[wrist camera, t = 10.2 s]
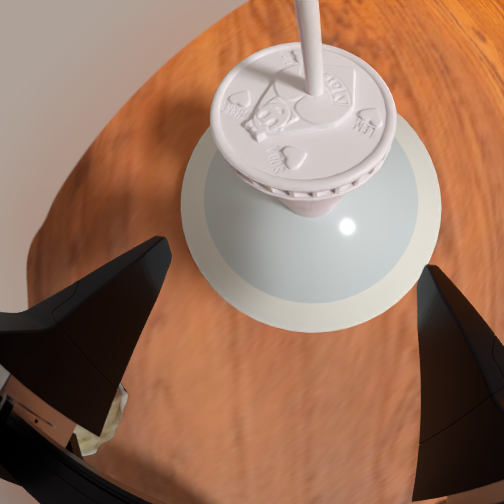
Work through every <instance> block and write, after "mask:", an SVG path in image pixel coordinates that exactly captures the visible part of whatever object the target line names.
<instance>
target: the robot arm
mask: <svg viewBox="0 0 504 504" xmlns="http://www.w3.org/2000/svg"><path fill="white" fill-rule="evenodd" d="M171 259H172V254H171V251H170V248H169V244H168V241H167V239H166V237H162V236H155V237H153V238H151V239H149V240H147V241H145V242H143V243H142V244H140V245H138V246H136V247H135V248H133V249H131V250H129V251H127V252H126V253H124V254H122V255H120V256H119V257H117V258H115V259H113V260H112V261H110V262H108V263H107V264H105V265H103V266H102V267H100V268H98V269H96V270H95V271H93V272H91V273H90V274H88V275H86V276H85V277H83V278H82V279H80V280H78V281H77V282H75V283H73V284H72V285H70V286H68V287H67V288H65V289H63V290H62V291H60V292H58V293H57V294H55V295H53V296H51V297H49V298H48V299H46V300H44V301H42V302H40V303H39V304H37V305H35V306H33V307H32V308H30V309H28V310H26V311H23V312H19V313H4V312H0V478H2V479H4V480H6V481H9V482H11V483H14V484H17V485H20V486H22V487H23V488H24V489H25V490H26V491H27V492H28V493H29V494H30V495H32V496H33V497H34V498H35V499H36V500H37V501H38V502H39V503H40V504H165V503H163V502H160V501H158V500H156V499H153V498H151V497H149V496H147V495H145V494H142V493H140V492H138V491H136V490H134V489H132V488H130V487H128V486H126V485H124V484H122V483H120V482H119V481H117V480H115V479H113V478H111V477H110V476H108V475H106V474H104V473H103V472H101V471H99V470H98V469H96V468H94V467H93V466H91V465H89V464H88V463H86V462H85V461H83V457H82V454H81V451H80V447H79V443H78V440H77V436H76V434H75V433H74V432H73V431H74V429H75V427H76V425H77V424H78V425H79V426H81V427H82V428H84V429H86V430H87V431H89V432H91V433H92V434H94V435H96V436H98V437H100V435H101V433H102V430H103V427H104V425H105V422H106V419H107V416H108V414H109V411H110V408H111V406H112V403H113V400H114V398H115V395H116V393H117V389H118V387H119V385H120V382H121V380H122V377H123V375H124V372H125V370H126V367H127V365H128V363H129V360H130V358H131V356H132V353H133V351H134V349H135V346H136V344H137V342H138V339H139V337H140V335H141V333H142V330H143V328H144V326H145V324H146V321H147V319H148V317H149V315H150V313H151V310H152V308H153V306H154V304H155V302H156V300H157V297H158V295H159V293H160V290H161V287H162V285H163V282H164V279H165V276H166V273H167V271H168V268H169V265H170V263H171ZM417 327H418V341H419V354H420V374H421V420H420V439H419V444H420V445H419V450H418V460H417V469H416V477H415V484H414V490H413V496H412V502H414V501H421V500H428V499H434V498H439V497H444V496H447V503H446V504H504V346H503V345H502V343H501V342H500V340H499V339H498V338H497V336H496V335H495V334H494V332H493V331H492V330H491V328H490V327H489V326H488V324H487V323H486V322H485V321H484V319H483V318H482V317H481V316H480V314H479V313H478V312H477V311H476V309H475V308H474V307H473V306H472V305H471V303H470V302H469V301H468V300H467V299H466V297H465V296H464V295H463V294H462V293H461V292H460V290H459V289H458V288H457V287H456V286H455V285H454V284H453V283H452V281H451V280H450V279H449V278H448V277H447V276H446V275H445V274H444V273H443V272H442V270H441V269H440V268H439V267H438V266H436V265H430V264H427V265H425V266H424V268H423V271H422V273H421V276H420V278H419V280H418V283H417ZM494 335H495V336H494Z"/></svg>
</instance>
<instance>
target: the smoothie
mask: <svg viewBox="0 0 504 504" xmlns="http://www.w3.org/2000/svg"><path fill="white" fill-rule="evenodd" d="M293 1H294V6H295V12H296V18H297V24H298V30H299V37H300V42H292V43H285V44H279V45H275V46H272V47H269V48H266V49H263V50H261V51H258V52H256V53H254V54H252V55H250V56H249V57H247V58H245V59H244V60H242V61H241V62H240V63H238V64H237V65H236V66H235V67H234V68H233V69H232V70H231V71H230V72H229V73H228V74H227V75H226V76H225V77H224V79H223V80H222V82H221V83H220V85H219V86H218V88H217V90H216V92H215V95H214V97H213V100H212V104H211V110H210V125H211V131H212V135H213V138H214V140H215V143H216V145H217V147H218V149H219V150H220V152H221V153H222V155H223V157H224V159H225V161H226V163H227V164H228V166H229V167H230V168H231V169H232V170H233V171H234V172H235V173H236V174H237V175H238V176H239V177H240V178H241V179H242V180H243V181H244V182H245V183H247V184H249V185H251V186H252V187H254V188H256V189H258V190H260V191H261V192H263V193H265V194H268V195H272V196H275V197H277V198H278V199H279V200H280V201H282V202H283V203H284V204H285V205H286V206H287V207H288V208H289V209H291V210H292V211H293V212H294V213H296V214H297V215H299V216H302V217H306V218H318V217H321V216H324V215H326V214H328V213H329V212H330V211H331V210H333V208H334V207H335V206H336V205H337V204H338V203H339V202H340V200H341V199H342V198H343V197H344V196H345V195H346V194H347V193H348V192H350V191H352V190H354V189H356V188H358V187H359V186H361V185H363V184H365V183H366V182H367V181H368V180H369V179H370V178H371V177H372V176H373V175H374V174H375V173H376V172H377V171H378V170H379V169H380V168H381V167H382V165H383V163H384V161H385V159H386V157H387V155H388V153H389V151H390V149H391V144H392V141H393V139H394V135H395V131H396V125H397V115H396V107H395V103H394V100H393V97H392V94H391V92H390V90H389V88H388V87H387V85H386V83H385V82H384V80H383V79H382V78H381V76H380V75H379V74H378V73H377V72H376V71H375V70H374V69H373V68H372V67H371V66H370V65H368V64H367V63H366V62H364V61H363V60H362V59H360V58H358V57H357V56H355V55H353V54H351V53H349V52H347V51H345V50H342V49H340V48H336V47H333V46H330V45H326V44H322V42H321V27H320V14H319V3H318V0H293Z"/></svg>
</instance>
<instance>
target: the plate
mask: <svg viewBox="0 0 504 504" xmlns="http://www.w3.org/2000/svg"><path fill="white" fill-rule="evenodd" d="M396 115H397V125H396V131H395V135H394V139H393V141H392V144H391V149H390V151H389V153H388V155H387V157H386V159H385V161H384V163H383V165H382V167H381V168H380V169H379V170H378V171H377V172H376V173H375V174H374V175H373V176H372V177H371V178H370V179H369V180H368V181H367V182H366V183H365V184H363V185H361V186H359V187H358V188H356V189H354V190H352V191H350V192H348V193H347V194H346V195H345V196H344V197H343V198H342V199H341V200H340V202H339V203H338V204H337V205H336V206H335V207H334V208H333V210H331V211H330V212H329V213H328V214H326V215H324V216H321V217H318V218H306V217H302V216H299V215H297V214H296V213H294V212H293V211H292V210H291V209H289V208H288V207H287V206H286V205H285V204H284V203H283V202H282V201H280V200H279V199H278V198H277V197H275V196H272V195H268V194H265V193H263V192H261V191H260V190H258V189H256V188H254V187H252V186H251V185H249V184H247V183H245V182H244V181H243V180H242V179H241V178H240V177H239V176H238V175H237V174H236V173H235V172H234V171H233V170H232V169H231V168H230V167H229V166H228V164H227V163H226V161H225V159H224V157H223V155H222V153H221V152H220V150H219V149H218V147H217V145H216V143H215V140H214V138H213V135H212V131H211V125H210V126H209V127H208V129H207V130H206V131H205V133H204V134H203V135H202V137H201V138H200V140H199V142H198V143H197V145H196V147H195V149H194V150H193V153H192V155H191V157H190V160H189V162H188V165H187V168H186V171H185V175H184V179H183V185H182V191H181V218H182V226H183V231H184V235H185V239H186V243H187V245H188V248H189V250H190V253H191V255H192V258H193V260H194V261H195V263H196V265H197V267H198V268H199V270H200V272H201V274H202V275H203V276H204V278H205V279H206V280H207V281H208V283H209V284H210V285H211V287H212V288H213V289H214V290H215V291H216V292H217V293H218V294H219V295H220V296H221V297H222V298H223V299H224V300H226V301H227V302H228V303H229V304H231V305H232V306H233V307H235V308H236V309H237V310H239V311H240V312H242V313H244V314H246V315H248V316H249V317H251V318H253V319H255V320H257V321H260V322H262V323H265V324H268V325H270V326H273V327H277V328H281V329H285V330H290V331H298V332H309V333H312V332H330V331H335V330H340V329H345V328H349V327H352V326H355V325H358V324H361V323H363V322H366V321H368V320H370V319H372V318H374V317H376V316H378V315H380V314H381V313H383V312H385V311H386V310H387V309H389V308H390V307H391V306H393V305H394V304H395V303H397V302H398V301H399V300H400V299H401V298H402V297H403V296H404V295H405V294H406V293H407V292H408V291H409V290H410V289H411V288H412V287H413V285H414V284H415V283H416V281H417V280H418V279H419V277H420V276H421V273H422V271H423V268H424V266H425V265H427V264H428V262H429V260H430V258H431V256H432V253H433V250H434V248H435V245H436V242H437V237H438V233H439V228H440V219H441V197H440V188H439V184H438V179H437V174H436V171H435V169H434V166H433V163H432V160H431V158H430V156H429V154H428V152H427V150H426V148H425V146H424V144H423V143H422V141H421V140H420V138H419V137H418V135H417V134H416V132H415V131H414V130H413V129H412V128H411V126H410V125H409V124H408V123H407V122H406V121H405V120H404V119H403V118H402V117H401V116H400V115H399V114H398V113H397V112H396Z"/></svg>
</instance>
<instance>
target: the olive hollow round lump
mask: <svg viewBox="0 0 504 504" xmlns="http://www.w3.org/2000/svg"><path fill="white" fill-rule="evenodd" d="M127 398H128V394H127V393H126V392H125V390H124V388H123V386H122V384H121V382H120V385H119V387H118V389H117V393H116V395H115V398H114V400H113V403H112V406H111V408H110V411H109V414H108V416H107V419H106V422H105V425H104V427H103V430H102V433H101V435H100V437H98V436H96V435H94V434H92V433H91V432H89V431H87V430H86V429H84V428H82V427H81V426H79V425H78V424H77V425H76V427H75V429H74V431H73V432H74V433H75V434H76V436H77V440H78V443H79V447H80V451H81V454H82V456H86V455H91V454H94V453H96V452H97V450H98V447H99V446H100V445H101V444H103V443H104V442H106V441H109V440H111V439H112V438H113V436H114V435H115V433H116V429H117V427H118V426H119V424H120V422H121V420H122V416H123V409H124V406H125V405H126V403H127Z"/></svg>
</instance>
